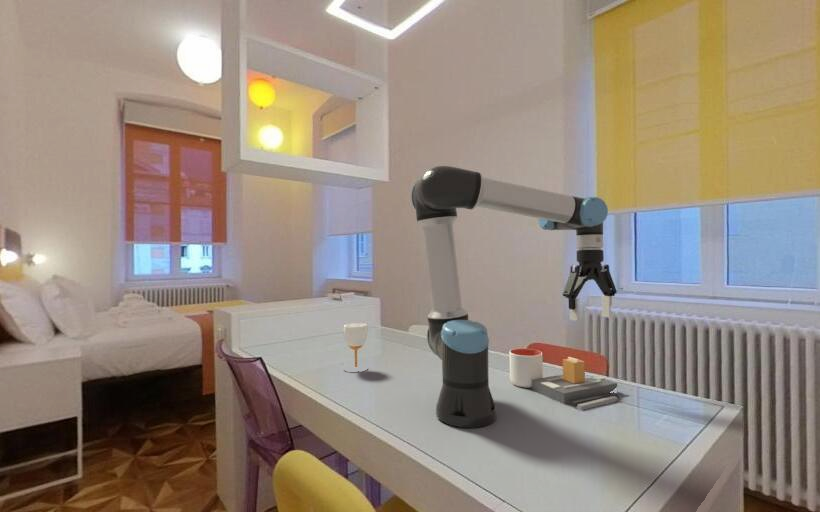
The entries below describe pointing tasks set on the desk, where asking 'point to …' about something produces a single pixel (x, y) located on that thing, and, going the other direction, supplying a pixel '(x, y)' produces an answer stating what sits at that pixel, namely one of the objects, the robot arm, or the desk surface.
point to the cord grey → (596, 402)
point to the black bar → (592, 399)
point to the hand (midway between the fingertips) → (590, 318)
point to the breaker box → (572, 388)
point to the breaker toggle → (573, 370)
